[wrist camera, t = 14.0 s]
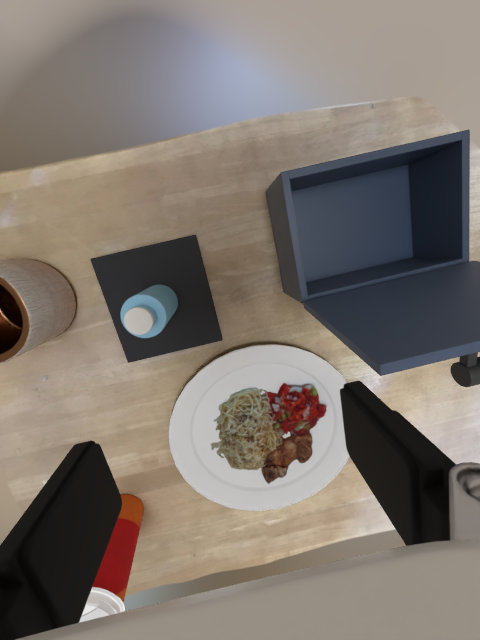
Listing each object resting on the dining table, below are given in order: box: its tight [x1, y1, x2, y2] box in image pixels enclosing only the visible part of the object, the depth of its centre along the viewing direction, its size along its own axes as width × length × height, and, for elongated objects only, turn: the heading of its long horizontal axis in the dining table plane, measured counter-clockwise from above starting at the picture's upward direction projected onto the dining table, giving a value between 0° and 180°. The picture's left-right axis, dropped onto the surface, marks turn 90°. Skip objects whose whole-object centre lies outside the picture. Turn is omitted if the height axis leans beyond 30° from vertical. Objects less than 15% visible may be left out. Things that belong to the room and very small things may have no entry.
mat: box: [91, 235, 222, 363], centre depth 37 cm, size 15×14×1 cm
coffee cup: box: [79, 494, 144, 623], centre depth 39 cm, size 8×8×15 cm
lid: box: [303, 261, 480, 387], centre depth 24 cm, size 14×20×5 cm
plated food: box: [169, 344, 349, 511], centre depth 42 cm, size 30×30×3 cm
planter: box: [0, 259, 76, 364], centre depth 32 cm, size 11×11×10 cm
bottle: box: [121, 285, 178, 338], centre depth 32 cm, size 5×5×11 cm
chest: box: [266, 130, 470, 304], centre depth 33 cm, size 14×20×9 cm
